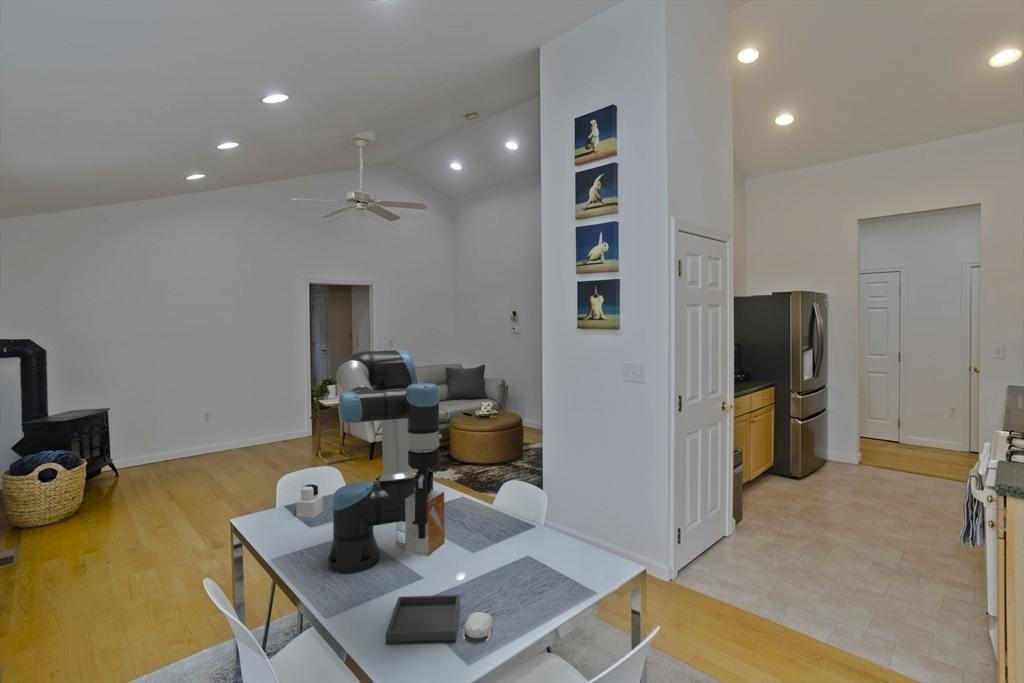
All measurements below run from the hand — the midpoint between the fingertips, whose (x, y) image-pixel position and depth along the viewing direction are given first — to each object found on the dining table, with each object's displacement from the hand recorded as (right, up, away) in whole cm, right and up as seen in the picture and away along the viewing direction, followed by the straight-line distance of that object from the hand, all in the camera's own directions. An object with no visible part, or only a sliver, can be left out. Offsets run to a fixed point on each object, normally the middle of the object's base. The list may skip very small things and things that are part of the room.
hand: (425, 541), depth 120 cm
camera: (-30, -19, +95) cm, 101 cm away
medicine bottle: (-56, -19, +71) cm, 93 cm away
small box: (0, -2, 0) cm, 2 cm away
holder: (0, -20, 0) cm, 20 cm away
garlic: (+13, -20, -4) cm, 24 cm away
